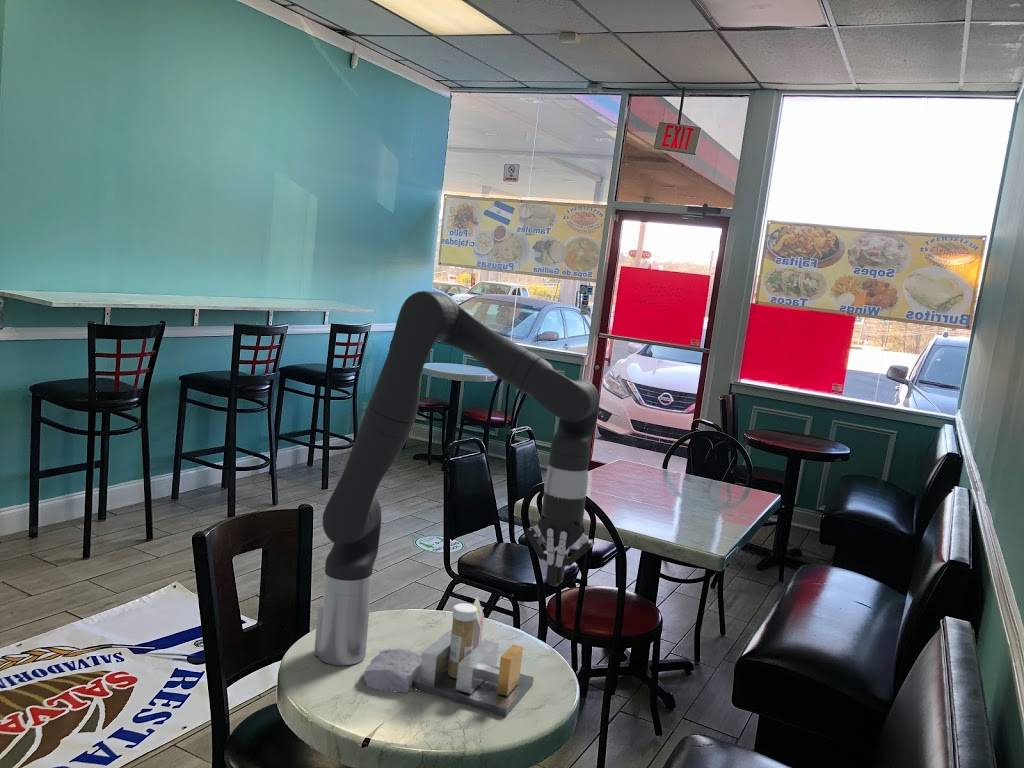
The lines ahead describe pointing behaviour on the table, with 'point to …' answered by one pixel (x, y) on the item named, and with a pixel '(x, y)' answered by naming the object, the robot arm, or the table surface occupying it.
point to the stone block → (393, 670)
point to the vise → (444, 685)
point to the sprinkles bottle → (461, 635)
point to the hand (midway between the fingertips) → (553, 584)
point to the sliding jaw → (490, 668)
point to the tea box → (478, 624)
